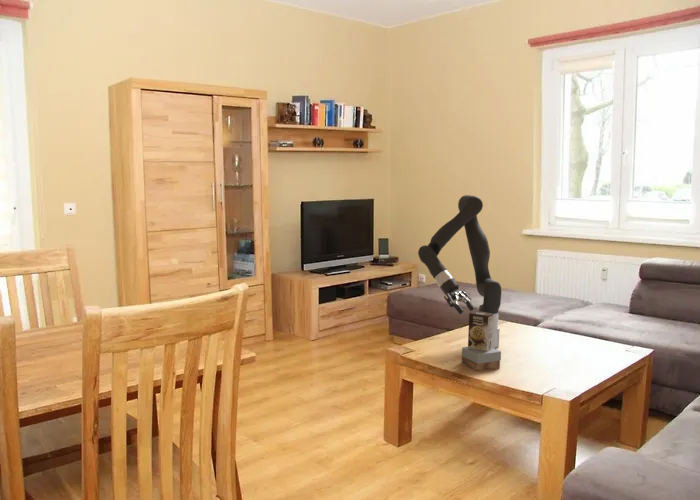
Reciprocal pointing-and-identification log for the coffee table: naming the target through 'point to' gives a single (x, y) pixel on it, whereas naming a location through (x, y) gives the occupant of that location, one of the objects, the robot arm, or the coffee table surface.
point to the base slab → (481, 365)
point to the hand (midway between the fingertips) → (467, 311)
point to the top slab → (481, 355)
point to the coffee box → (480, 331)
